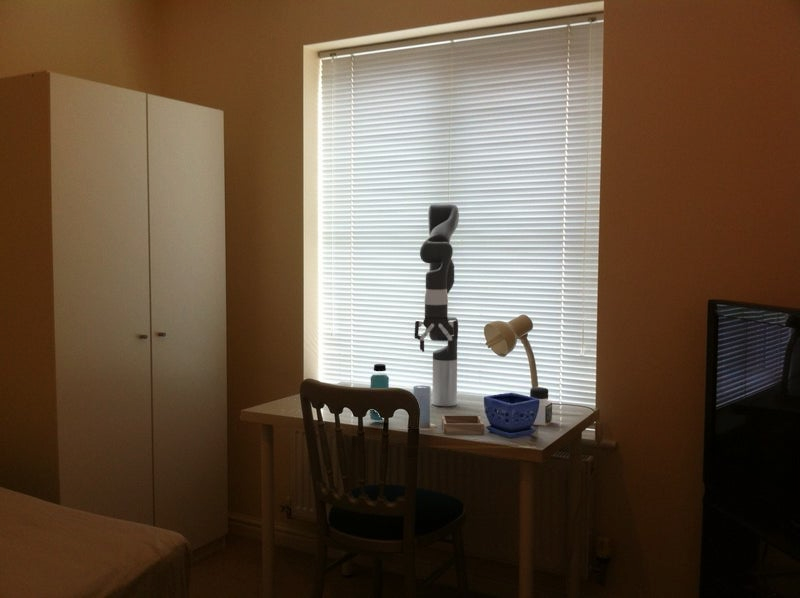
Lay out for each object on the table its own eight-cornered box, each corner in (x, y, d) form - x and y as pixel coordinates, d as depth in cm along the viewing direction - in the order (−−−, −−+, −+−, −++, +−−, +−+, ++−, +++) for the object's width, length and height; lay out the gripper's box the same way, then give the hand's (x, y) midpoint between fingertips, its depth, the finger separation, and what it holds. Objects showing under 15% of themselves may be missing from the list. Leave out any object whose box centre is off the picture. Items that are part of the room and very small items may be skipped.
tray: (441, 425, 241) (441, 415, 241) (479, 425, 242) (479, 415, 241) (444, 435, 229) (444, 424, 229) (483, 435, 229) (484, 424, 229)
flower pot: (541, 435, 229) (541, 398, 228) (510, 442, 221) (511, 403, 221) (511, 427, 240) (512, 391, 239) (481, 433, 232) (481, 396, 231)
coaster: (406, 424, 243) (406, 422, 243) (436, 424, 243) (436, 422, 243) (406, 431, 233) (406, 430, 233) (437, 431, 233) (437, 430, 233)
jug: (429, 424, 241) (430, 385, 240) (430, 429, 234) (431, 389, 233) (413, 424, 241) (413, 385, 240) (413, 429, 234) (413, 389, 233)
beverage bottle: (378, 419, 250) (378, 361, 248) (393, 422, 245) (393, 364, 244) (365, 423, 245) (365, 364, 243) (380, 426, 240) (380, 366, 239)
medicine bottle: (545, 426, 242) (546, 390, 241) (525, 423, 245) (525, 388, 244) (552, 421, 248) (552, 387, 247) (532, 419, 251) (532, 385, 250)
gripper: (457, 301, 243) (456, 349, 244) (414, 301, 243) (414, 349, 244) (458, 303, 235) (458, 353, 237) (414, 303, 235) (414, 353, 237)
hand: (435, 351), depth 240 cm, fingers open, 8 cm apart
